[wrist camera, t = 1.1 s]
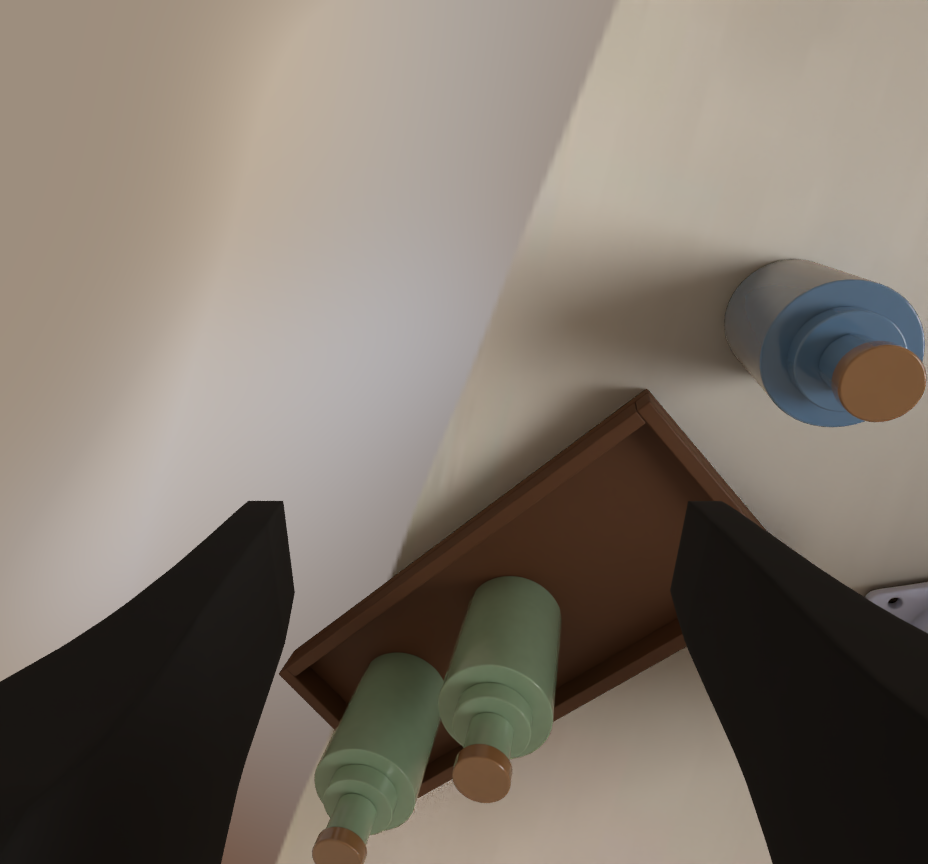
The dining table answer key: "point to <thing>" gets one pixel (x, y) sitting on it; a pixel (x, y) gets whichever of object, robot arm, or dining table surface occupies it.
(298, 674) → the tray
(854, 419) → the blue bottle
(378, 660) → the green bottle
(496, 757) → the green bottle mid
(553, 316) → the dining table surface
